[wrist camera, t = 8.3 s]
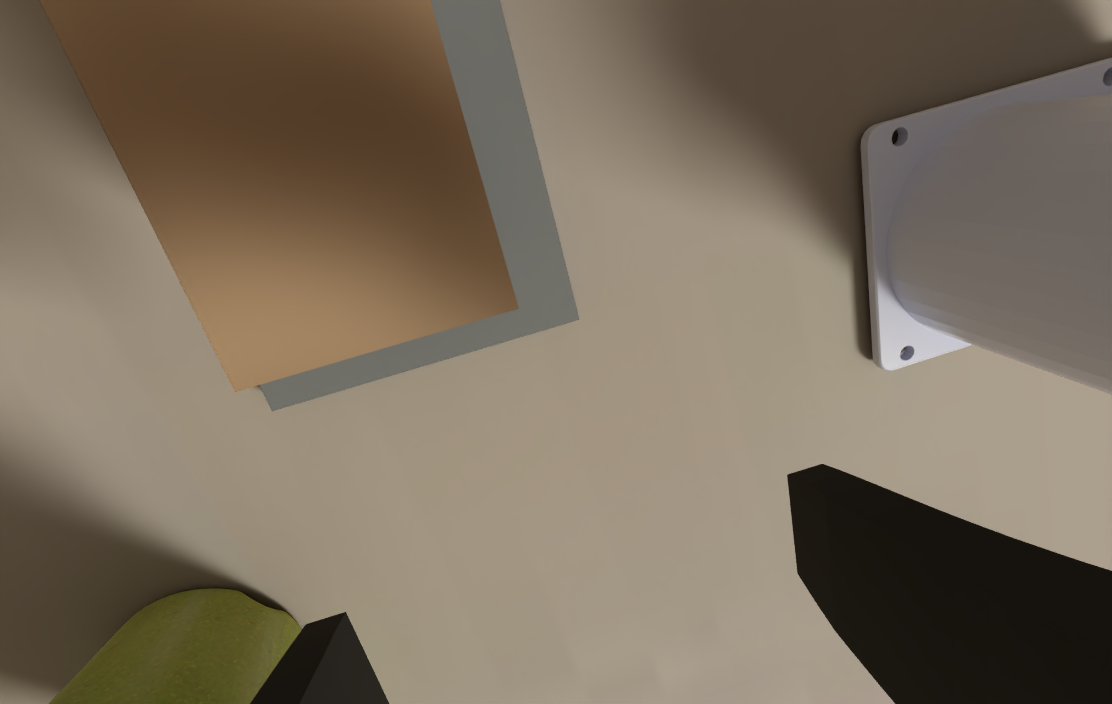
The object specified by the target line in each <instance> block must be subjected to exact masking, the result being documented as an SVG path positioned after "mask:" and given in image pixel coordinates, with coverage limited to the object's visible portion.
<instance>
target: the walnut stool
mask: <svg viewBox="0 0 1112 704" xmlns="http://www.w3.org/2000/svg"><path fill="white" fill-rule="evenodd" d="M39 1H40V3H41V5H42V7H43V9H44V11H45V13H46V15H47V17H48V19H49V21H50V23H51V25H52V27H53V29H54V31H55V33H56V35H57V37H58V39H59V41H60V43H61V45H62V47H63V49H64V51H65V53H66V55H67V57H68V59H69V61H70V63H71V65H72V67H73V69H74V71H75V73H76V75H77V77H78V79H79V81H80V83H81V85H82V87H83V89H84V91H85V93H86V95H87V97H88V99H89V101H90V103H91V105H92V107H93V109H94V111H95V113H96V115H97V117H98V119H99V121H100V123H101V125H102V127H103V129H104V131H105V133H106V135H107V137H108V139H109V141H110V143H111V145H112V147H113V149H114V151H115V153H116V155H117V157H118V159H119V161H120V163H121V165H122V167H123V169H124V171H125V173H126V175H127V177H128V179H129V181H130V183H131V185H132V187H133V189H134V191H135V193H136V195H137V197H138V199H139V201H140V203H141V205H142V207H143V209H144V211H145V213H146V215H147V217H148V219H149V221H150V223H151V225H152V227H153V229H154V231H155V233H156V235H157V237H158V239H159V241H160V243H161V245H162V247H163V249H164V251H165V253H166V255H167V257H168V259H169V261H170V263H171V265H172V267H173V269H174V271H175V273H176V275H177V277H178V279H179V281H180V283H181V285H182V287H183V289H184V291H185V293H186V295H187V297H188V299H189V301H190V303H191V305H192V307H193V309H194V311H195V313H196V315H197V317H198V319H199V321H200V323H201V325H202V327H203V329H204V331H205V333H206V335H207V337H208V339H209V341H210V343H211V345H212V347H213V349H214V351H215V353H216V355H217V357H218V359H219V361H220V363H221V365H222V367H223V369H224V371H225V373H226V375H227V377H228V379H229V381H230V383H231V385H232V387H233V389H234V391H235V392H237V391H240V390H244V389H247V388H251V387H254V386H257V385H261V384H264V383H268V382H271V381H274V380H278V379H281V378H285V377H288V376H291V375H295V374H298V373H302V372H305V371H308V370H312V369H315V368H319V367H322V366H325V365H329V364H332V363H336V362H339V361H342V360H346V359H349V358H353V357H356V356H359V355H363V354H366V353H370V352H373V351H376V350H380V349H383V348H387V347H390V346H393V345H397V344H400V343H404V342H407V341H410V340H414V339H417V338H421V337H424V336H427V335H431V334H434V333H438V332H441V331H444V330H448V329H451V328H455V327H458V326H461V325H465V324H468V323H472V322H475V321H478V320H482V319H485V318H489V317H492V316H495V315H499V314H502V313H506V312H509V311H512V310H516V309H519V307H518V304H517V300H516V297H515V293H514V290H513V286H512V283H511V279H510V276H509V273H508V269H507V266H506V262H505V259H504V255H503V252H502V248H501V245H500V241H499V238H498V234H497V231H496V227H495V224H494V220H493V217H492V213H491V210H490V206H489V203H488V199H487V196H486V192H485V189H484V186H483V182H482V179H481V175H480V172H479V168H478V165H477V161H476V158H475V154H474V151H473V147H472V144H471V140H470V137H469V133H468V130H467V126H466V123H465V119H464V116H463V112H462V109H461V105H460V102H459V98H458V95H457V92H456V88H455V85H454V81H453V78H452V74H451V71H450V67H449V64H448V60H447V57H446V53H445V50H444V46H443V43H442V39H441V36H440V32H439V29H438V25H437V22H436V18H435V15H434V11H433V8H432V4H431V1H430V0H39Z"/></svg>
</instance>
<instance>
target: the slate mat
mask: <svg viewBox="0 0 1112 704" xmlns="http://www.w3.org/2000/svg"><path fill="white" fill-rule="evenodd" d="M430 1H431V4H432V8H433V11H434V15H435V18H436V22H437V25H438V29H439V32H440V36H441V39H442V43H443V46H444V50H445V53H446V57H447V60H448V64H449V67H450V71H451V74H452V78H453V81H454V85H455V88H456V92H457V95H458V98H459V102H460V105H461V109H462V112H463V116H464V119H465V123H466V126H467V130H468V133H469V137H470V140H471V144H472V147H473V151H474V154H475V158H476V161H477V165H478V168H479V172H480V175H481V179H482V182H483V186H484V189H485V192H486V196H487V199H488V203H489V206H490V210H491V213H492V217H493V220H494V224H495V227H496V231H497V234H498V238H499V241H500V245H501V248H502V252H503V255H504V259H505V262H506V266H507V269H508V273H509V276H510V279H511V283H512V286H513V290H514V293H515V297H516V300H517V304H518V307H519V309H516V310H512V311H509V312H506V313H502V314H499V315H495V316H492V317H489V318H485V319H482V320H478V321H475V322H472V323H468V324H465V325H461V326H458V327H455V328H451V329H448V330H444V331H441V332H438V333H434V334H431V335H427V336H424V337H421V338H417V339H414V340H410V341H407V342H404V343H400V344H397V345H393V346H390V347H387V348H383V349H380V350H376V351H373V352H370V353H366V354H363V355H359V356H356V357H353V358H349V359H346V360H342V361H339V362H336V363H332V364H329V365H325V366H322V367H319V368H315V369H312V370H308V371H305V372H302V373H298V374H295V375H291V376H288V377H285V378H281V379H278V380H274V381H271V382H268V383H264V384H261V385H260V387H261V389H262V391H263V393H264V396H265V398H266V400H267V402H268V404H269V406H270V408H271V410H272V411H274V410H278V409H281V408H284V407H288V406H291V405H295V404H298V403H301V402H305V401H308V400H311V399H315V398H318V397H321V396H325V395H328V394H331V393H335V392H338V391H341V390H345V389H348V388H352V387H355V386H358V385H362V384H365V383H368V382H372V381H375V380H378V379H382V378H385V377H388V376H392V375H395V374H398V373H402V372H405V371H409V370H412V369H415V368H419V367H422V366H425V365H429V364H432V363H435V362H439V361H442V360H445V359H449V358H452V357H455V356H459V355H462V354H466V353H469V352H472V351H476V350H479V349H482V348H486V347H489V346H492V345H496V344H499V343H502V342H506V341H509V340H512V339H516V338H519V337H523V336H526V335H529V334H533V333H536V332H539V331H543V330H546V329H549V328H553V327H556V326H559V325H563V324H566V323H569V322H573V321H576V320H579V316H578V312H577V308H576V304H575V300H574V296H573V292H572V288H571V284H570V280H569V276H568V272H567V268H566V264H565V260H564V256H563V252H562V248H561V244H560V240H559V236H558V232H557V228H556V224H555V220H554V216H553V212H552V208H551V204H550V200H549V196H548V192H547V188H546V184H545V180H544V176H543V172H542V168H541V164H540V160H539V156H538V152H537V148H536V144H535V140H534V136H533V132H532V128H531V124H530V120H529V116H528V112H527V108H526V104H525V100H524V96H523V92H522V88H521V84H520V80H519V76H518V72H517V68H516V64H515V60H514V56H513V52H512V48H511V44H510V40H509V36H508V32H507V28H506V24H505V20H504V16H503V12H502V8H501V4H500V0H430Z"/></svg>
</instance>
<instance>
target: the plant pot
mask: <svg viewBox="0 0 1112 704" xmlns="http://www.w3.org/2000/svg"><path fill="white" fill-rule="evenodd" d="M301 630H302V629H301V628H300V626H299V625H298V624H297V623H296V621H295V620H294V619H293V618H292V617H291V616H290V615H288V614H287V613H286V612H284V611H282V610H275V609H272V608H269V607H266V606H264V605H262V604H260V603H258V602H256V601H254V600H252V599H251V598H249V597H248V596H246V595H245V594H244V593H242V592H240V591H236V590H229V589H212V588H211V589H195V590H189V591H184V592H179V593H176V594H172V595H169V596H167V597H164V598H162V599H159V600H157V601H155V602H153V603H151V604H149V605H147V606H146V607H144V608H142V609H141V610H140V611H138V612H137V613H136V614H135V615H134V616H132V617H131V618H130V619H129V620H128V621H127V622H126V623H125V624H124V625H123V626H122V627H121V628H120V629H119V630H118V631H117V632H116V633H115V634H114V635H113V636H112V637H111V638H110V639H109V640H108V642H107V643H106V644H105V645H104V646H103V647H102V648H101V649H100V650H99V651H98V652H97V653H96V654H95V655H94V656H93V657H92V658H91V660H90V661H89V662H88V663H87V664H86V665H85V666H84V667H83V668H82V669H81V670H80V671H79V672H78V673H77V675H76V676H75V677H74V678H73V679H72V680H71V681H70V682H69V683H68V684H67V685H66V686H65V687H64V688H63V689H62V690H61V691H60V693H59V694H58V695H57V696H56V697H55V698H54V699H53V700H52V701H51V702H50V703H49V704H250V703H251V701H252V700H253V699H254V697H255V696H256V694H257V693H258V691H259V690H260V688H261V687H262V686H263V684H264V683H265V681H266V680H267V678H268V677H269V675H270V674H271V673H272V671H273V670H274V668H275V667H276V665H277V664H278V662H279V661H280V660H281V658H282V657H283V655H284V654H285V652H286V651H287V650H288V648H289V647H290V645H291V644H292V643H293V641H294V640H295V638H296V637H297V636H298V634H299V633H300V632H301Z"/></svg>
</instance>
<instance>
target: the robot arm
mask: <svg viewBox="0 0 1112 704" xmlns="http://www.w3.org/2000/svg"><path fill="white" fill-rule="evenodd" d="M1104 75H1105V77H1104ZM1103 77H1104V80H1103ZM895 130H897V132H898V139H897V141H896V143H895V144H893V143H892V140H891V139H892V134H893V133H894V131H895ZM861 161H862V179H863V196H864V213H865V231H866V248H867V265H868V283H869V300H870V317H871V335H872V352H873V361H874V363H875V365H876V366H877V367H879V368H882V369H884V370H887V371H891V370H896V369H899V368H902V367H905V366H908V365H911V364H914V363H918V362H921V361H924V360H927V359H930V358H933V357H936V356H940V355H943V354H946V353H949V352H952V351H955V350H958V349H961V348H965V347H968V346H971V345H975V346H978V347H981V348H983V349H986V350H989V351H992V352H995V353H997V354H1000V355H1003V356H1006V357H1008V358H1011V359H1014V360H1017V361H1020V362H1022V363H1025V364H1028V365H1031V366H1034V367H1036V368H1039V369H1042V370H1045V371H1047V372H1050V373H1053V374H1056V375H1059V376H1061V377H1064V378H1067V379H1070V380H1073V381H1075V382H1078V383H1081V384H1084V385H1086V386H1089V387H1092V388H1095V389H1098V390H1100V391H1103V392H1106V393H1109V394H1112V57H1111V58H1107V59H1104V60H1100V61H1097V62H1093V63H1090V64H1086V65H1083V66H1079V67H1076V68H1072V69H1068V70H1065V71H1061V72H1058V73H1054V74H1051V75H1047V76H1044V77H1040V78H1037V79H1033V80H1030V81H1026V82H1022V83H1019V84H1015V85H1012V86H1008V87H1005V88H1001V89H998V90H994V91H991V92H987V93H984V94H980V95H976V96H973V97H969V98H966V99H962V100H959V101H955V102H952V103H948V104H945V105H941V106H938V107H934V108H930V109H927V110H923V111H920V112H916V113H913V114H909V115H906V116H902V117H899V118H895V119H892V120H888V121H885V122H881V123H877V124H874V125H873V126H871V127H869V128H868V129H867V130H866V131H865V132H864V134H863V137H862V139H861ZM904 347H906V348H905V352H904V353H903V354H902V355H901V356H900V353H901V350H902V349H903V348H904ZM787 477H788V487H789V496H790V506H791V515H792V525H793V534H794V544H795V553H796V563H797V572H798V575H799V576H800V578H801V580H802V581H803V583H804V584H805V586H806V587H807V589H808V591H809V592H810V594H811V595H812V597H813V598H814V600H815V602H816V603H817V605H818V606H819V608H820V609H821V611H822V612H823V614H824V615H825V617H826V618H827V619H828V621H829V622H830V624H831V625H832V627H833V628H834V630H835V631H836V633H837V634H838V635H839V636H840V637H841V639H842V640H843V641H844V642H845V644H846V645H847V646H848V647H849V649H850V650H851V651H852V652H853V653H854V655H855V656H856V657H857V658H858V659H859V661H860V662H861V663H862V664H863V666H864V667H865V668H866V669H867V670H868V672H869V673H870V674H871V675H872V676H873V678H874V679H875V680H876V681H877V682H878V684H879V685H880V686H881V687H882V688H883V690H884V691H885V692H886V693H887V694H888V696H889V697H890V698H891V699H892V700H893V702H894V703H895V704H1112V571H1110V570H1107V569H1104V568H1101V567H1098V566H1094V565H1091V564H1088V563H1085V562H1082V561H1079V560H1076V559H1073V558H1070V557H1067V556H1064V555H1061V554H1058V553H1055V552H1052V551H1049V550H1046V549H1043V548H1041V547H1038V546H1035V545H1032V544H1029V543H1026V542H1023V541H1020V540H1017V539H1014V538H1012V537H1009V536H1006V535H1003V534H1001V533H998V532H995V531H993V530H990V529H987V528H984V527H982V526H979V525H976V524H974V523H971V522H968V521H966V520H963V519H961V518H958V517H955V516H953V515H950V514H948V513H945V512H943V511H940V510H938V509H935V508H933V507H930V506H928V505H925V504H923V503H920V502H918V501H915V500H913V499H910V498H908V497H905V496H903V495H900V494H898V493H895V492H893V491H890V490H888V489H885V488H883V487H881V486H878V485H876V484H873V483H871V482H868V481H866V480H863V479H861V478H858V477H856V476H853V475H851V474H848V473H846V472H843V471H841V470H838V469H835V468H832V467H830V466H827V465H824V464H820V465H817V466H814V467H811V468H807V469H804V470H801V471H798V472H795V473H791V474H788V475H787ZM250 704H389V702H388V700H387V698H386V696H385V694H384V692H383V690H382V687H381V685H380V683H379V681H378V679H377V677H376V675H375V673H374V671H373V668H372V666H371V664H370V662H369V660H368V658H367V656H366V654H365V652H364V649H363V647H362V645H361V643H360V641H359V639H358V637H357V635H356V632H355V630H354V628H353V626H352V624H351V622H350V620H349V618H348V616H347V613H346V612H344V613H341V614H338V615H335V616H331V617H328V618H325V619H322V620H318V621H315V622H312V623H309V624H306V625H305V626H304V628H303V629H302V630H301V632H300V633H299V634H298V636H297V637H296V638H295V640H294V641H293V643H292V644H291V645H290V647H289V648H288V650H287V651H286V652H285V654H284V655H283V657H282V658H281V660H280V661H279V662H278V664H277V665H276V667H275V668H274V670H273V671H272V673H271V674H270V675H269V677H268V678H267V680H266V681H265V683H264V684H263V686H262V687H261V688H260V690H259V691H258V693H257V694H256V696H255V697H254V699H253V700H252V701H251V703H250Z"/></svg>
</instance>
